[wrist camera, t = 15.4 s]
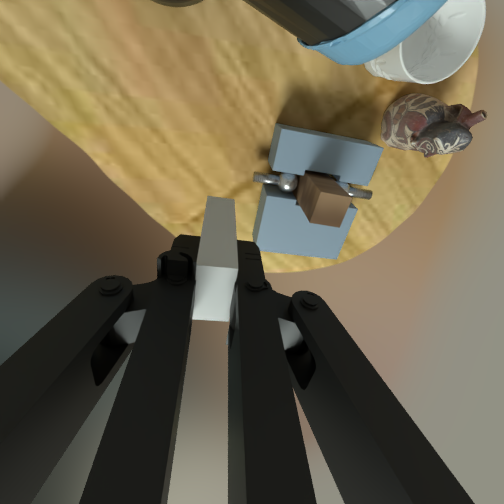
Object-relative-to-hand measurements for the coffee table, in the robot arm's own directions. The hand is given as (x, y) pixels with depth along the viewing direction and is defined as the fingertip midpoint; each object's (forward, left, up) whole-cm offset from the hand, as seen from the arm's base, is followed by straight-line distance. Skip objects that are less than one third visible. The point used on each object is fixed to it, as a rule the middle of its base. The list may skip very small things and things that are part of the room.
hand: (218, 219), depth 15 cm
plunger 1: (+4, +8, -25) cm, 26 cm away
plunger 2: (+4, +20, -25) cm, 32 cm away
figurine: (-6, +25, -27) cm, 37 cm away
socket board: (+6, +14, -26) cm, 30 cm away
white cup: (-14, +19, -27) cm, 36 cm away
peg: (+4, +13, -26) cm, 30 cm away
